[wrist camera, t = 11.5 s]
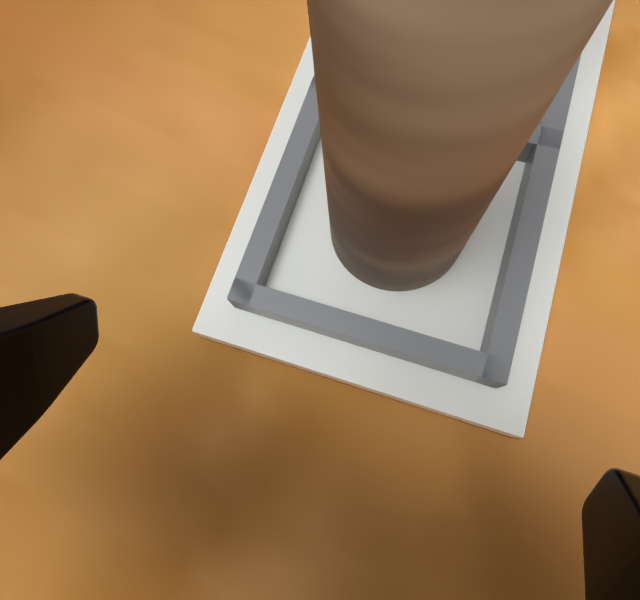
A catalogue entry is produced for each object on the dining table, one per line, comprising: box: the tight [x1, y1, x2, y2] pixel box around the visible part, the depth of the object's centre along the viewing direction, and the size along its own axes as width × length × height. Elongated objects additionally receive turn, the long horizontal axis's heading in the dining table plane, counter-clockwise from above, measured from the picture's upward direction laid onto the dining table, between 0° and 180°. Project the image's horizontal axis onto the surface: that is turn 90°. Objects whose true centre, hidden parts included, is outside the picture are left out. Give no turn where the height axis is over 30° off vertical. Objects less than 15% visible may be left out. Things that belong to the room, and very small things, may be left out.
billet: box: [307, 0, 613, 292], centre depth 11 cm, size 5×5×14 cm
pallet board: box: [192, 0, 615, 438], centre depth 19 cm, size 21×12×2 cm, turn 162°
